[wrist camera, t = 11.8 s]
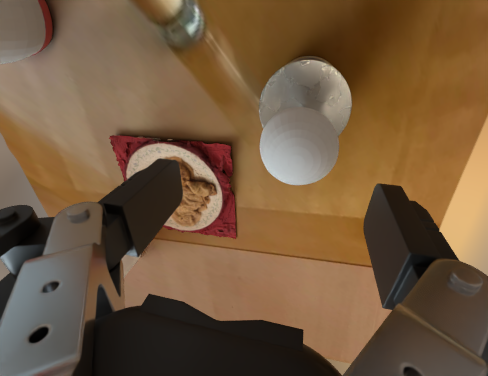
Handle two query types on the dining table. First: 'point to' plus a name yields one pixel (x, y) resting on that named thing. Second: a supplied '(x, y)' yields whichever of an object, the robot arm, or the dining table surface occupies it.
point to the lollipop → (299, 146)
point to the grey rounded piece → (308, 91)
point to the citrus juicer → (23, 29)
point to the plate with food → (188, 180)
